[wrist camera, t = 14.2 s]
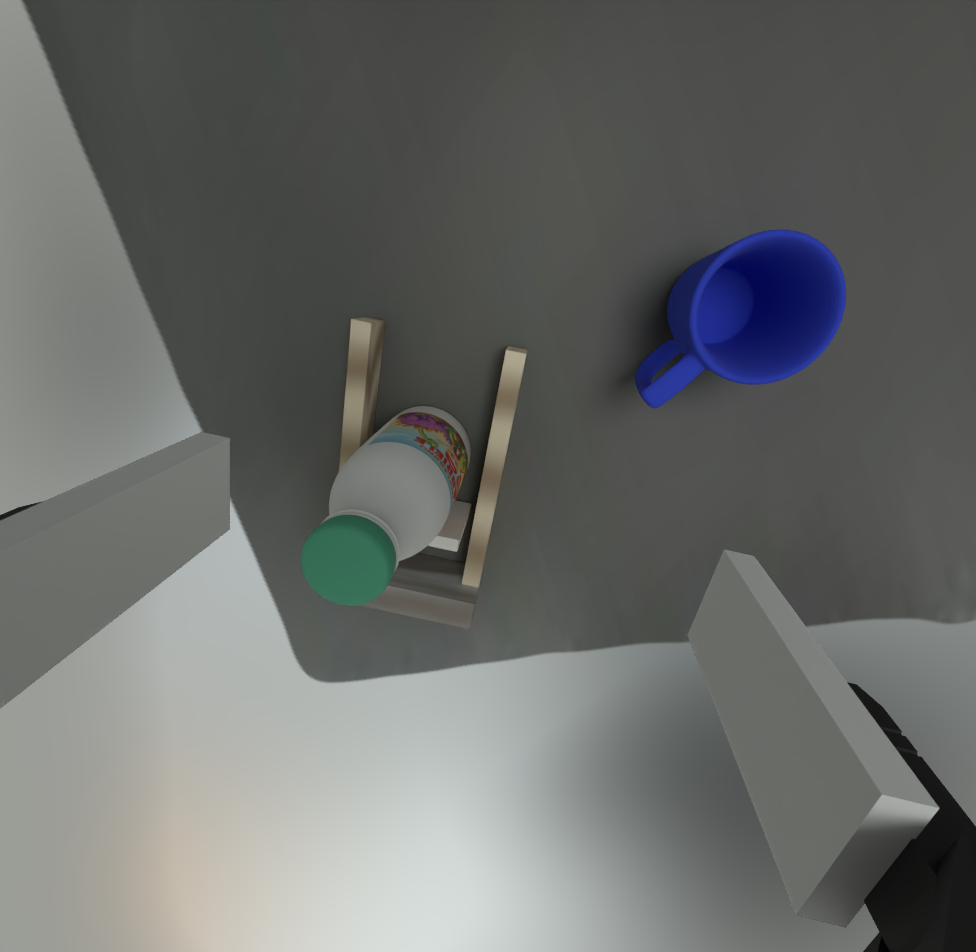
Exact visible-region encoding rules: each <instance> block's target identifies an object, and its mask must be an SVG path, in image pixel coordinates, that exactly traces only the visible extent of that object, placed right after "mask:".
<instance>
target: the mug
mask: <svg viewBox="0 0 976 952" xmlns="http://www.w3.org/2000/svg"><path fill="white" fill-rule="evenodd" d="M845 301H846V287H845V280H844V275H843V273H842V270H841V267H840V265H839V263H838V261H837V259H836V258H835V256H834V255H833V254H832V252H831V251H830V250H829V249H828V248H827V247H826V246H825V245H824V244H822V243H821V242H820V241H818V240H817V239H815V238H813V237H811V236H809V235H807V234H804V233H801V232H797V231H791V230H769V231H764V232H759V233H756V234H753V235H750V236H748V237H745V238H743V239H741V240H739V241H737V242H735V243H733V244H731V245H729V246H727V247H725V248H723V249H721V250H719V251H717V252H715V253H713V254H711V255H709V256H707V257H705V258H703V259H701V260H699V261H698V262H696V263H694V264H693V265H692V266H690V267H689V268H688V269H687V270H686V271H685V272H684V273H683V274H682V275H681V276H680V277H679V279H678V280H677V282H676V283H675V285H674V287H673V289H672V291H671V294H670V296H669V300H668V305H667V319H668V324H669V327H670V330H671V333H672V335H673V338H674V340H669V341H667V342H665V343H664V344H663V345H661V346H660V347H659V348H657V349H656V350H655V351H654V352H652V353H651V354H650V355H649V356H648V357H647V358H646V359H645V360H644V361H643V362H642V363H641V365H640V366H639V368H638V369H637V372H636V376H635V381H636V386H637V389H638V391H639V393H640V395H641V397H642V398H643V400H644V401H645V402H646V403H647V404H648V405H649V406H650V407H652V408H658V407H660V406H661V405H663V404H664V403H665V402H667V401H668V400H669V399H671V398H672V397H673V396H674V395H676V394H677V393H678V392H679V391H681V390H682V389H683V388H684V387H686V386H687V385H688V384H689V383H690V382H691V381H692V380H694V379H695V378H696V377H697V376H698V375H699V374H700V373H701V372H702V371H703V370H704V369H707V370H710V371H712V372H714V373H716V374H717V375H719V376H721V377H723V378H725V379H727V380H730V381H733V382H737V383H742V384H767V383H772V382H776V381H779V380H782V379H785V378H787V377H789V376H792V375H794V374H796V373H797V372H799V371H801V370H802V369H804V368H805V367H807V366H808V365H809V364H810V363H812V362H813V361H814V360H815V359H816V358H817V357H818V356H819V355H820V354H821V353H822V352H823V351H824V350H825V348H826V347H827V346H828V345H829V343H830V342H831V340H832V339H833V337H834V335H835V333H836V332H837V330H838V327H839V325H840V322H841V320H842V316H843V312H844V308H845ZM680 353H683V354H685V355H684V357H683V358H682V359H681V360H680V361H678V362H677V363H676V364H675V365H674V366H672V367H671V368H670V369H669V370H667V371H666V372H665V373H664V374H662V375H661V376H660V377H659V378H657V379H656V380H655V381H654V382H652V383H651V380H652V378H653V377H654V375H655V374H656V373H657V372H658V371H659V370H660V369H661V368H662V367H663V366H664V365H665V364H666V363H667V362H669V361H670V360H671V359H672V358H674V357H675V356H676V355H678V354H680Z"/></svg>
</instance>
